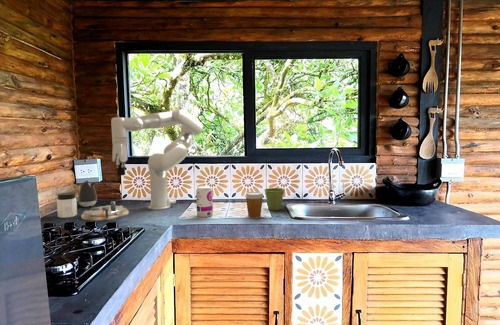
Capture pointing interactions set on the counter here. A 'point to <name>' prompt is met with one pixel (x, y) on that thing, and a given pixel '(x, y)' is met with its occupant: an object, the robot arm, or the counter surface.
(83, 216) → the sprocket base
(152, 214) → the counter surface
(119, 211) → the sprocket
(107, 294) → the counter surface
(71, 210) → the jar
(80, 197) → the gray teardrop vessel
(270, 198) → the plant pot
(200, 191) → the supplement can
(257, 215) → the disposable coffee cup
